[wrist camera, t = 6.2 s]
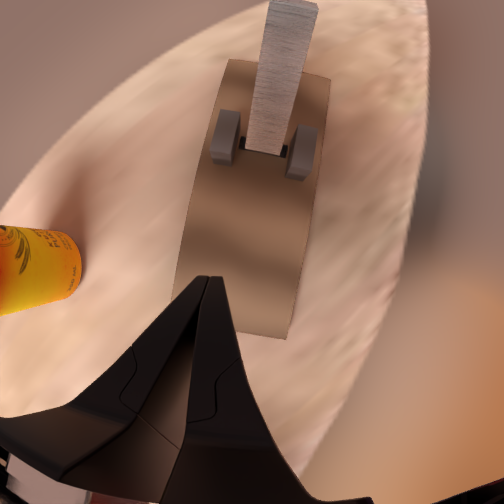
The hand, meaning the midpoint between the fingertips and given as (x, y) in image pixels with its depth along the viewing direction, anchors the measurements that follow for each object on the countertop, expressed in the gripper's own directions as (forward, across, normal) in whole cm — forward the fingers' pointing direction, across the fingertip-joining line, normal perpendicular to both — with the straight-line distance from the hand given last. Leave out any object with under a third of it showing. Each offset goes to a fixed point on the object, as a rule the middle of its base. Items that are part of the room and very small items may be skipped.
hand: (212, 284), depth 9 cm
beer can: (+9, +17, +8) cm, 21 cm away
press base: (+14, 0, +4) cm, 15 cm away
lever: (+14, -1, 0) cm, 14 cm away
